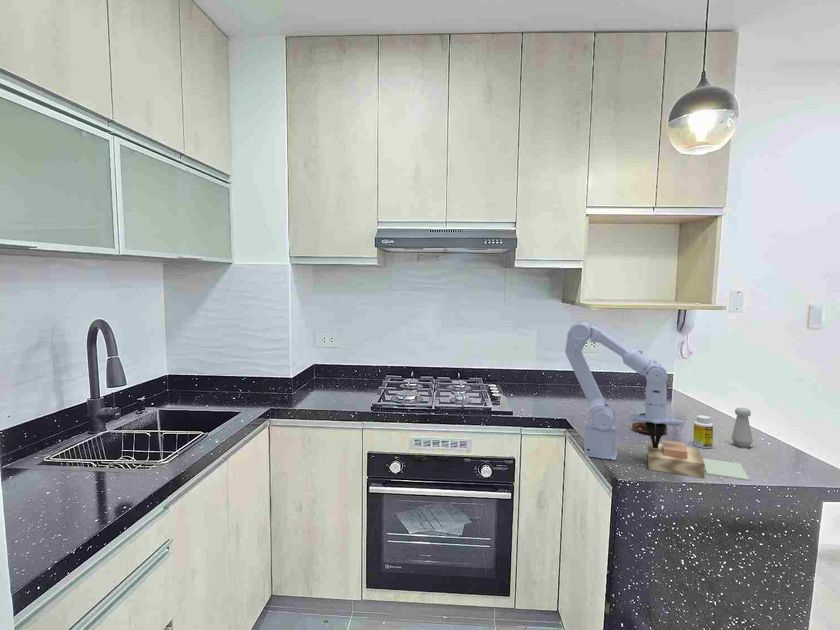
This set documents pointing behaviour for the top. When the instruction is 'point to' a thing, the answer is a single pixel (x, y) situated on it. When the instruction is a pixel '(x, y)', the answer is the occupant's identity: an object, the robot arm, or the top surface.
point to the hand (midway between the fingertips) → (655, 447)
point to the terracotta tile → (674, 449)
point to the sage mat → (725, 469)
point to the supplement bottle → (703, 432)
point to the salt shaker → (742, 428)
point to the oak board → (676, 462)
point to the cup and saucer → (643, 426)
